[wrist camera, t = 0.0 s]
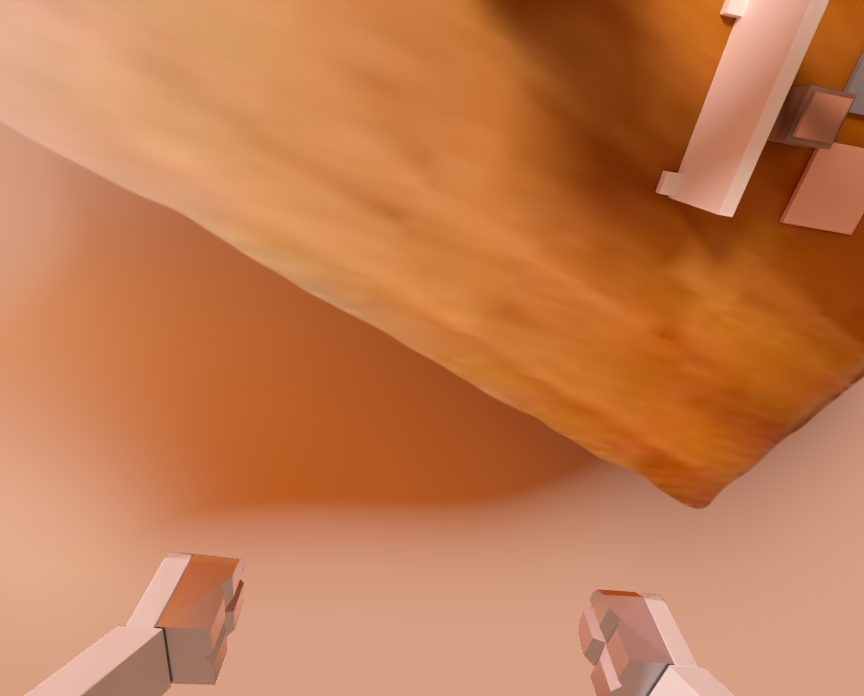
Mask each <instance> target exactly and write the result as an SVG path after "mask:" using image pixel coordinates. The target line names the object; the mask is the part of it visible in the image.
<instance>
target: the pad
mask: <svg viewBox="0 0 864 696" xmlns="http://www.w3.org/2000/svg"><path fill="white" fill-rule="evenodd" d="M863 213H864V148H861V147H855V146H850V145H845V144H840V143H835V142H833V144H832V146H831V148H830V149H820V148H815V150H814V152H813V154H812V156H811V158H810V160H809V162H808V164H807V166H806V168H805V170H804V172H803V174H802V176H801V178H800V180H799V182H798V184H797V186H796V188H795V190H794V192H793V194H792V196H791V199H790V201H789V203H788V205H787V207H786V209H785V211H784V213H783V215H782V217H781V219H780V221H779V222H782V223H787V224H792V225H798V226H804V227H809V228H815V229H821V230H827V231H832V232H838V233H844V234H849V235H852V233H853V231H854V229H855V228H856V226H857V224H858V222H859V220H860V219H861V217H862V215H863Z"/></svg>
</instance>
